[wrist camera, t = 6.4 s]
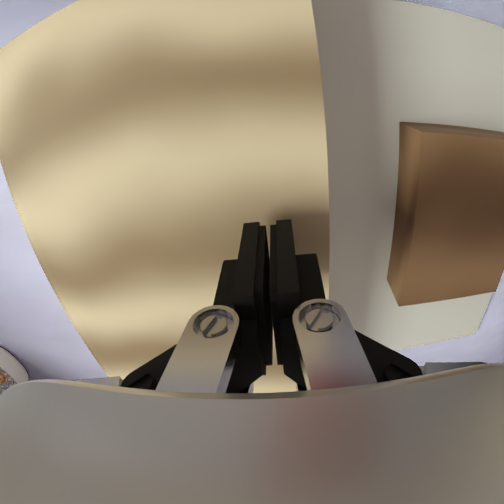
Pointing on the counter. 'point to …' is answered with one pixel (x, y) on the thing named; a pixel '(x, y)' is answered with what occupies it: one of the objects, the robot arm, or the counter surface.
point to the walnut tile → (447, 213)
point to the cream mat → (395, 144)
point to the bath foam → (10, 371)
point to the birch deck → (162, 157)
